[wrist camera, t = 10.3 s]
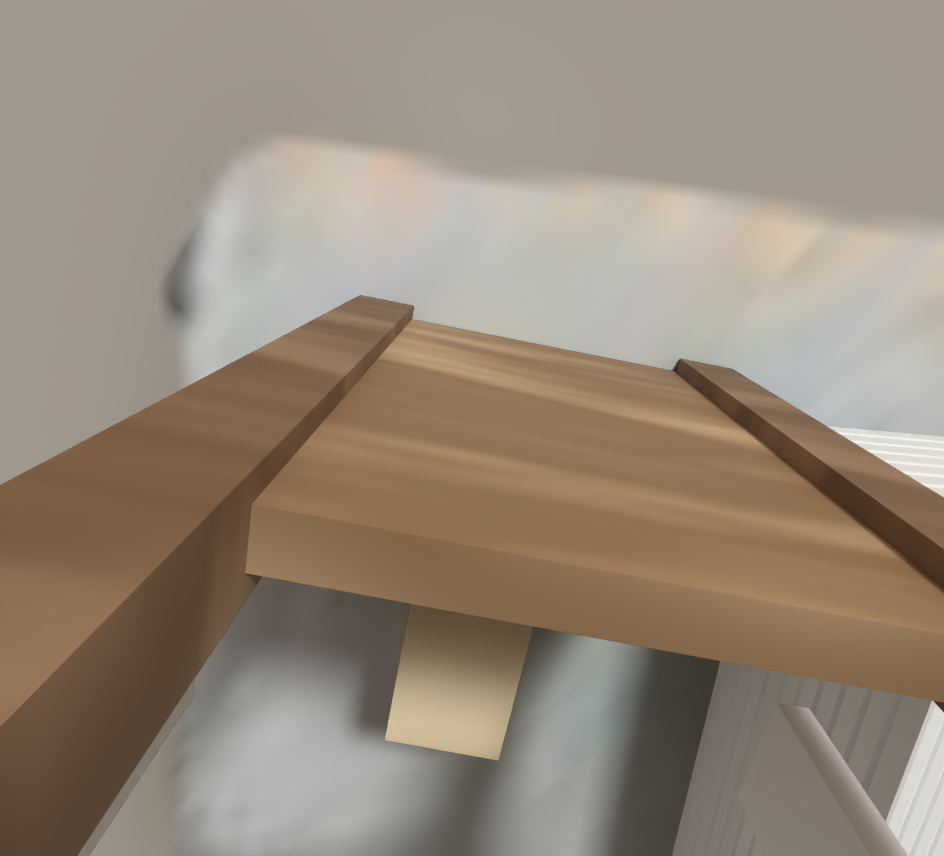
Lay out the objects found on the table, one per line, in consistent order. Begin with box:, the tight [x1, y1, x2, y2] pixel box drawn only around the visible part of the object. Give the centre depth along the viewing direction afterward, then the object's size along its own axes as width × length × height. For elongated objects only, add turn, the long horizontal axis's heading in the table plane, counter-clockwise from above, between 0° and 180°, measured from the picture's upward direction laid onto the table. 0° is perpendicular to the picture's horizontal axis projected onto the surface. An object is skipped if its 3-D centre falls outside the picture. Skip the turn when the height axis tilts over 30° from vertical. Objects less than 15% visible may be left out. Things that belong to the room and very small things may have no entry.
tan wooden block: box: [385, 604, 534, 760], centre depth 23 cm, size 12×4×6 cm, turn 169°
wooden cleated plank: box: [0, 295, 944, 856], centre depth 13 cm, size 4×14×22 cm, turn 79°
